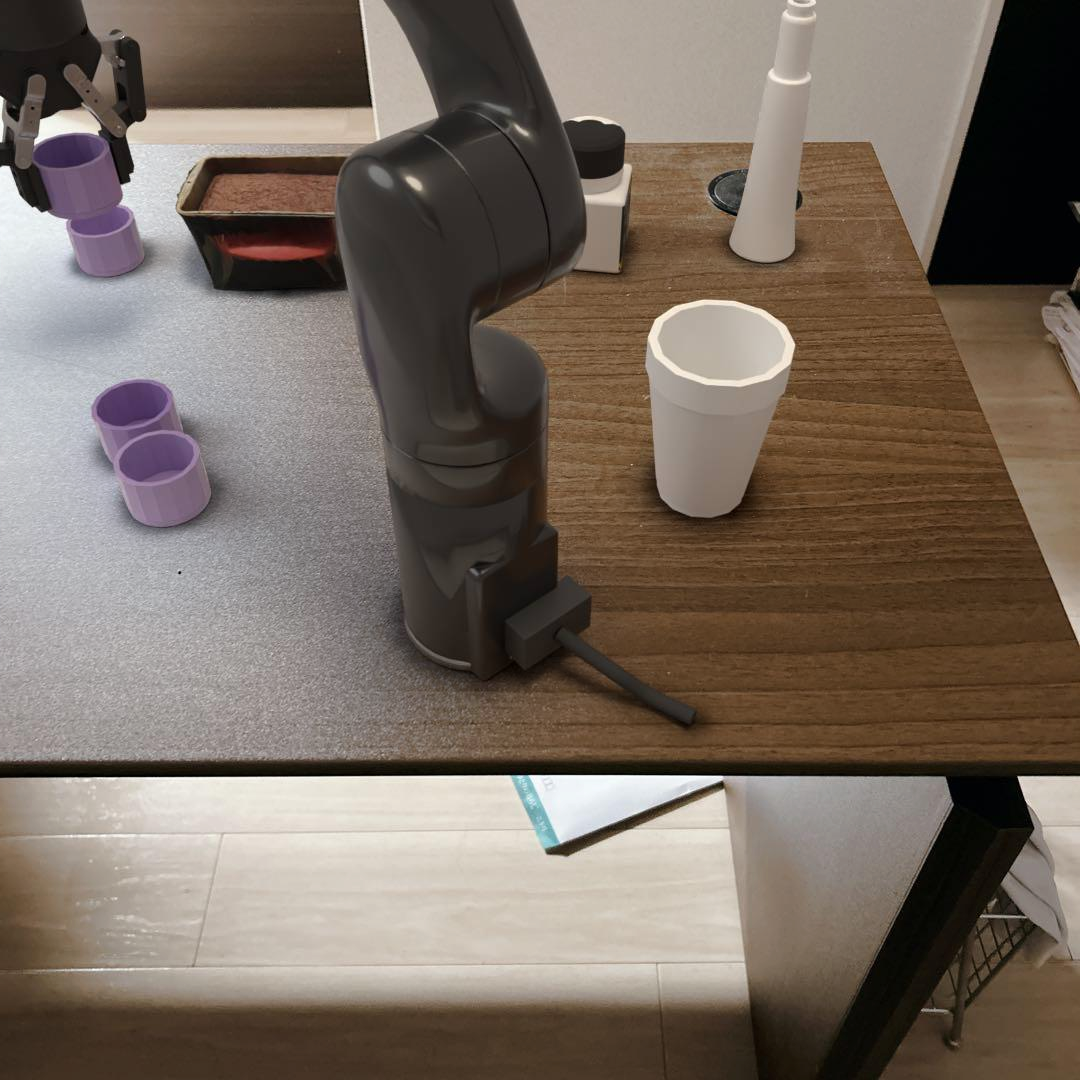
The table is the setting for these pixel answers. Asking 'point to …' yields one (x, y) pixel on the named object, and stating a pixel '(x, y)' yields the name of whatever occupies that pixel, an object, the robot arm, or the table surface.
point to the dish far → (107, 242)
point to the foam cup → (713, 399)
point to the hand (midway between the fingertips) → (82, 192)
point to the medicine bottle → (602, 190)
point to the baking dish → (265, 219)
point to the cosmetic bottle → (778, 145)
